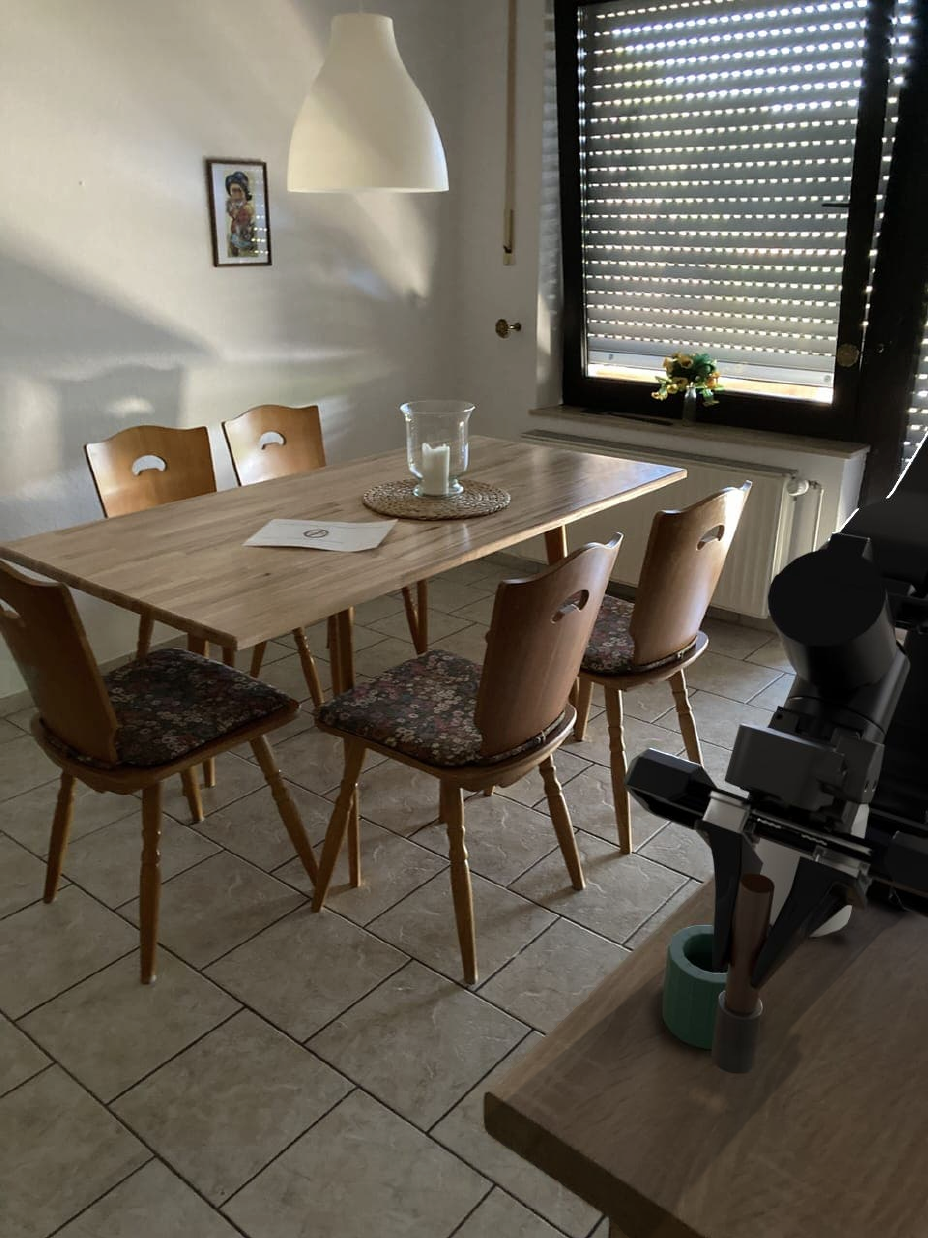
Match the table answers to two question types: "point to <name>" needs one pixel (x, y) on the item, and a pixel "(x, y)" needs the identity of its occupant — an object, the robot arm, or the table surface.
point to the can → (783, 867)
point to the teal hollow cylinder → (692, 986)
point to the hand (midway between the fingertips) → (735, 979)
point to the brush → (743, 978)
